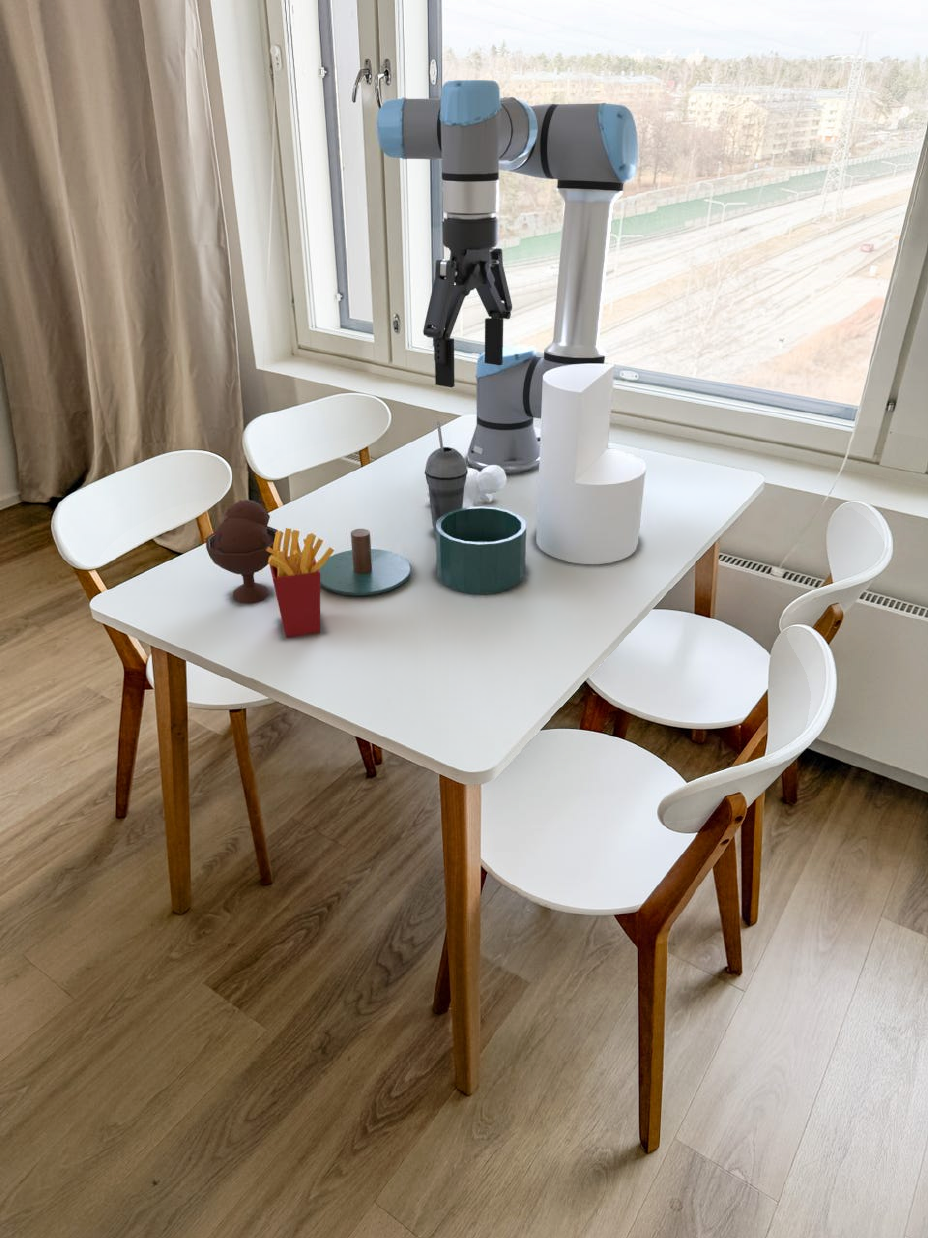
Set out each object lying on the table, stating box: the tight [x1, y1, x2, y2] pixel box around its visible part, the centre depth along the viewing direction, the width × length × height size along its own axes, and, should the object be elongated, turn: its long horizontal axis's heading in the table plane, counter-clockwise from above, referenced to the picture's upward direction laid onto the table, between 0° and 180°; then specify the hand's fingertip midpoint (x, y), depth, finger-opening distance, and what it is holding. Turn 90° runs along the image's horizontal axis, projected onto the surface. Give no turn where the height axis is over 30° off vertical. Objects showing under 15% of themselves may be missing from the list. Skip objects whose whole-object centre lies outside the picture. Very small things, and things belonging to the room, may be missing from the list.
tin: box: [435, 505, 527, 595], centre depth 138 cm, size 14×14×8 cm
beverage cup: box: [424, 421, 468, 537], centre depth 148 cm, size 7×7×20 cm
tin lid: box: [319, 528, 411, 596], centre depth 138 cm, size 15×15×8 cm
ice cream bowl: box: [205, 499, 279, 604], centre depth 131 cm, size 11×11×15 cm
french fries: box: [266, 527, 335, 638], centre depth 123 cm, size 9×8×15 cm
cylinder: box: [535, 363, 647, 565], centre depth 143 cm, size 17×17×28 cm
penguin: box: [426, 465, 507, 508], centre depth 161 cm, size 9×8×15 cm
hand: (470, 374), depth 128 cm, fingers open, 13 cm apart
